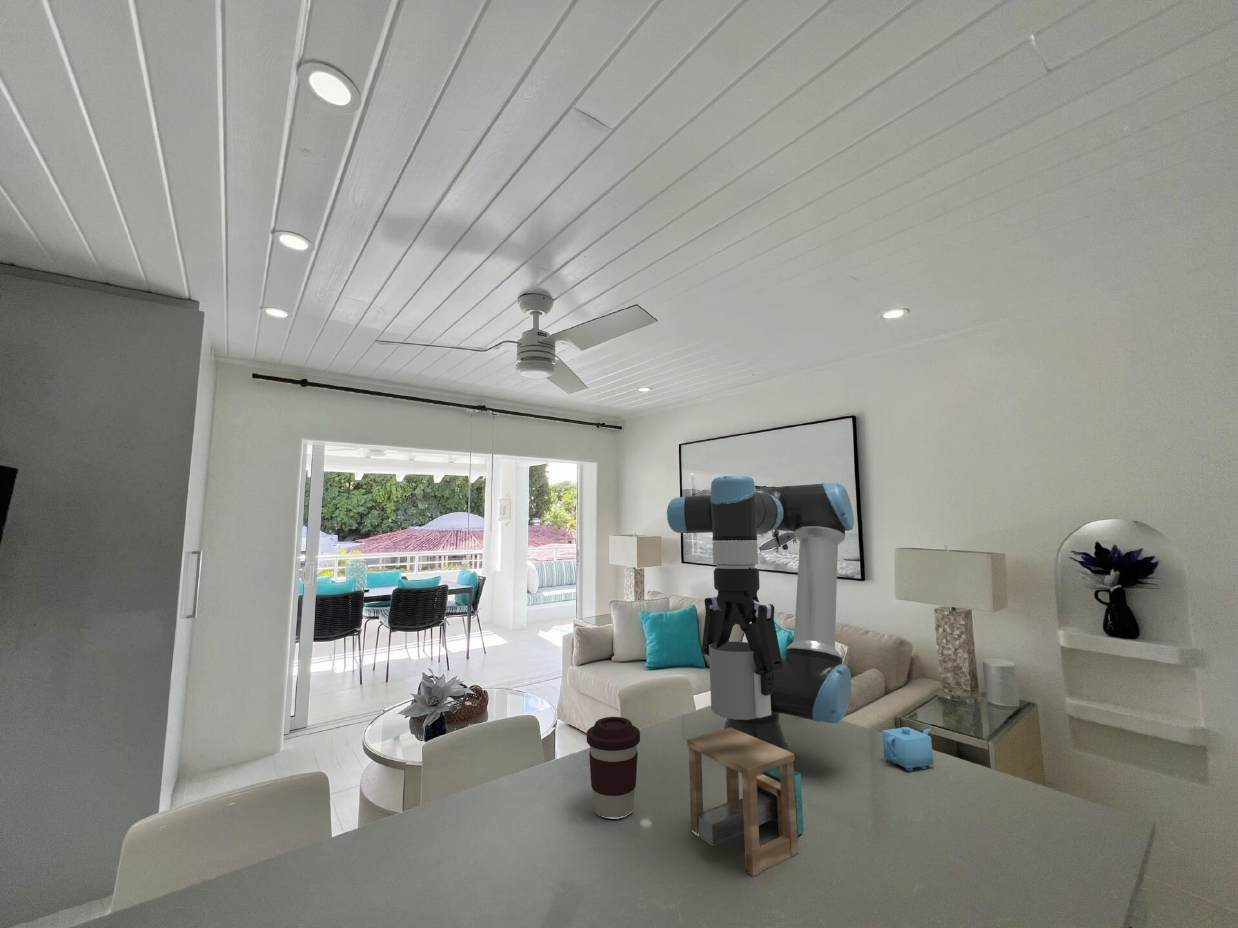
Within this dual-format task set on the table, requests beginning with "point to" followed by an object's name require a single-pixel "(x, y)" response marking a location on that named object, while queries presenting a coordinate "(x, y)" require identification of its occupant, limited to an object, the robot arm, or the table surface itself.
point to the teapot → (908, 747)
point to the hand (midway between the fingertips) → (741, 707)
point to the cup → (732, 680)
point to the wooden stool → (748, 790)
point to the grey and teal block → (731, 819)
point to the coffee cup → (613, 765)
